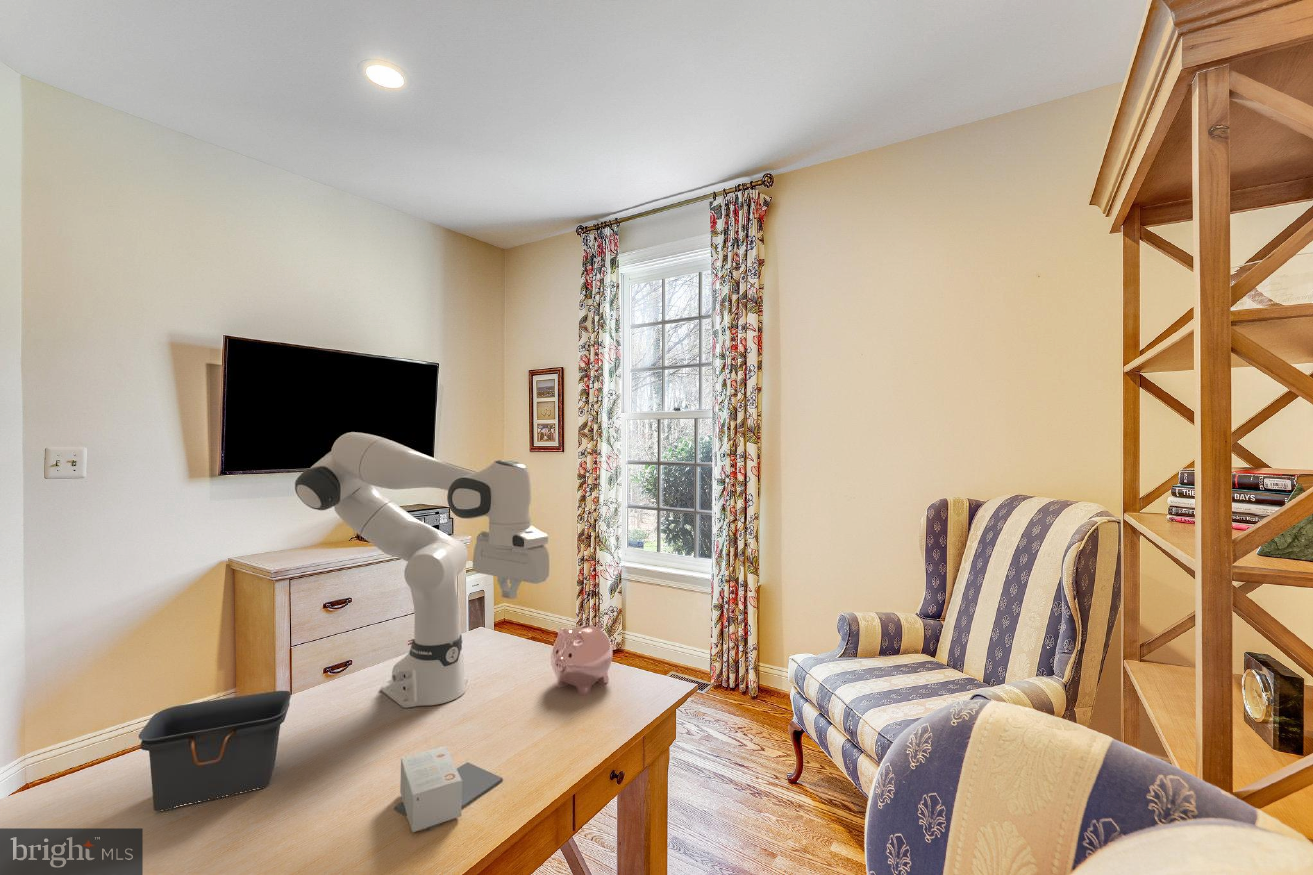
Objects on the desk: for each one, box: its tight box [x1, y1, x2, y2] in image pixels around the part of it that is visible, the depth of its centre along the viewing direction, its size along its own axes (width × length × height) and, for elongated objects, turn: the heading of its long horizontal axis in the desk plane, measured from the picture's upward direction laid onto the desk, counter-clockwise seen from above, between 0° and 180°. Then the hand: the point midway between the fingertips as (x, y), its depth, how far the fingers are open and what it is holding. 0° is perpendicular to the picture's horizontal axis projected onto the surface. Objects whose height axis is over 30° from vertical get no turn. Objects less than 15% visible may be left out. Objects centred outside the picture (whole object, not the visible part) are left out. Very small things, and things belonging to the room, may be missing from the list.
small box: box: [399, 745, 462, 834], centre depth 98 cm, size 8×6×13 cm
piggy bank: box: [550, 621, 613, 696], centre depth 148 cm, size 15×18×16 cm
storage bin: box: [137, 690, 292, 812], centre depth 101 cm, size 21×16×14 cm
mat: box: [393, 761, 504, 831], centre depth 101 cm, size 10×16×1 cm, turn 149°
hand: (509, 597), depth 120 cm, fingers closed
